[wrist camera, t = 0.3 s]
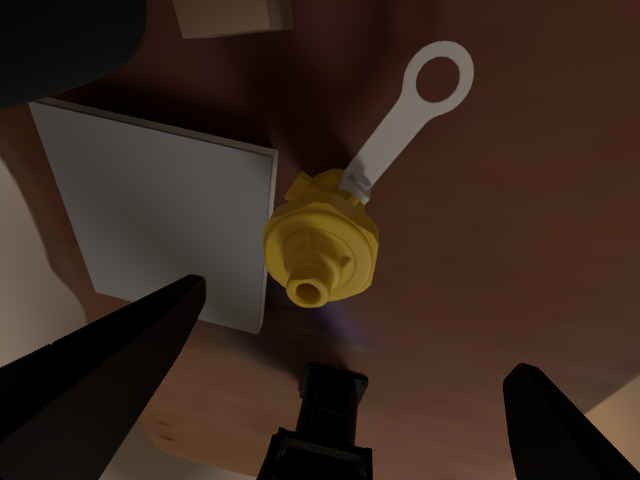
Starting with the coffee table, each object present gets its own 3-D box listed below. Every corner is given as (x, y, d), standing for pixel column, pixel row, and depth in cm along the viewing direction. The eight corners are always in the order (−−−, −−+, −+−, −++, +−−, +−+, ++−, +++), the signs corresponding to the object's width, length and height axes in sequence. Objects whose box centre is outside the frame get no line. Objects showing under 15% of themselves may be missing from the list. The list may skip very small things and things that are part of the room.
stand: (266, 314, 28) (257, 334, 27) (114, 275, 29) (95, 292, 27) (283, 145, 19) (271, 157, 17) (60, 94, 20) (27, 100, 18)
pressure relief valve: (285, 192, 21) (220, 293, 13) (407, 7, 14) (433, -28, 6) (350, 235, 22) (328, 355, 14) (491, 81, 16) (610, 134, 7)
